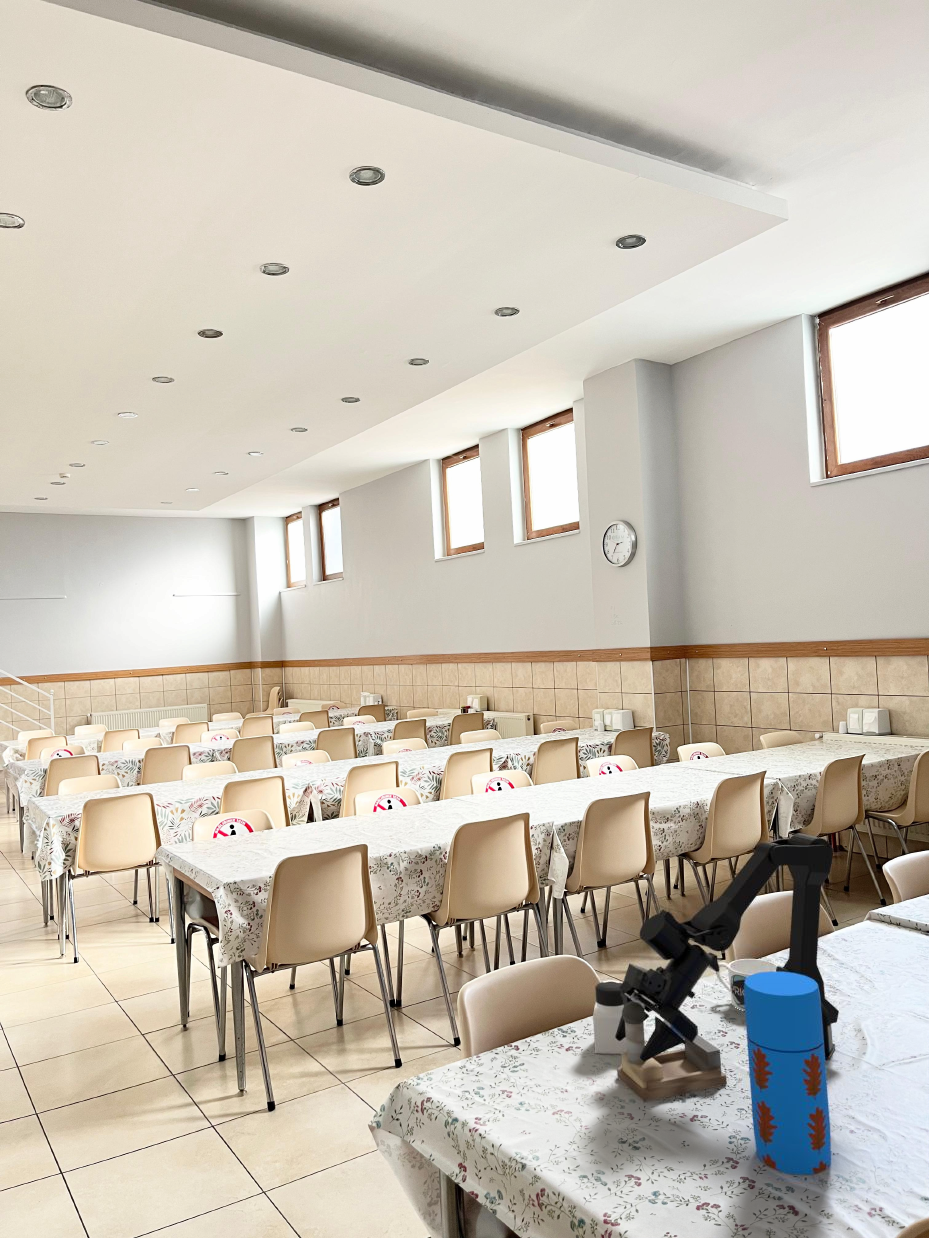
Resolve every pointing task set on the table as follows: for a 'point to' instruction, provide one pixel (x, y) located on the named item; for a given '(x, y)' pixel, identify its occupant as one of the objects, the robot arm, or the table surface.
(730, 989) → the mug
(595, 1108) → the table surface
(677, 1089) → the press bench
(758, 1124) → the thermos
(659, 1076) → the press handle
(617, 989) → the medicine bottle
